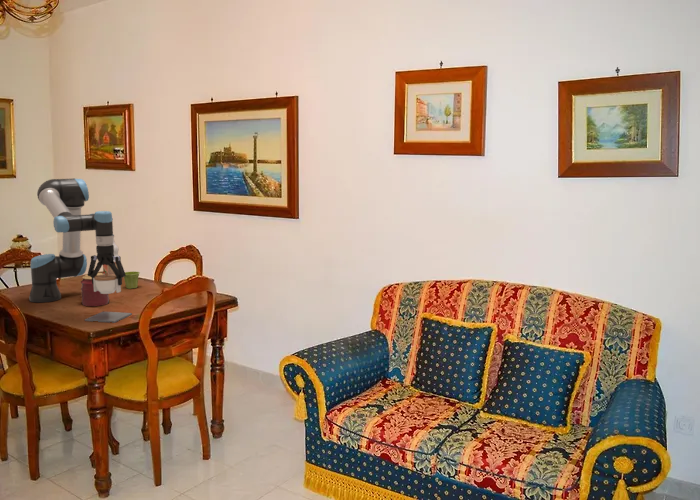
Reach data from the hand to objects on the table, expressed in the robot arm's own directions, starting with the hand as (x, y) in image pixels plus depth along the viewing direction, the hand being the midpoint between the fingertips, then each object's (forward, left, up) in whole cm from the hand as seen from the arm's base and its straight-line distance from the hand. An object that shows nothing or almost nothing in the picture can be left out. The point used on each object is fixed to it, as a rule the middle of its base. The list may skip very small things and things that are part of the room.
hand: (107, 291), depth 297 cm
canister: (-22, +24, -13) cm, 35 cm away
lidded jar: (0, 0, -1) cm, 1 cm away
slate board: (0, 0, -13) cm, 13 cm away
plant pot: (-24, +63, -13) cm, 69 cm away
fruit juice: (-46, +79, -13) cm, 92 cm away
